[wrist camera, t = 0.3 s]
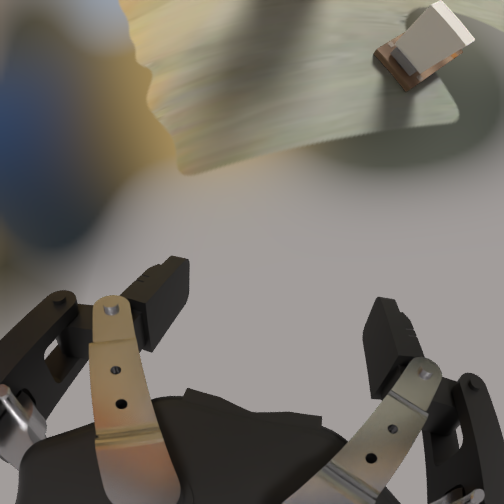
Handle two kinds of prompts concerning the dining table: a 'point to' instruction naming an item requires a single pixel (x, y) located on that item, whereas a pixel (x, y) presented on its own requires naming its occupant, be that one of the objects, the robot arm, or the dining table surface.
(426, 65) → the white grey block
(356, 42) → the dining table surface
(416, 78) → the slider board
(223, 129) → the dining table surface
